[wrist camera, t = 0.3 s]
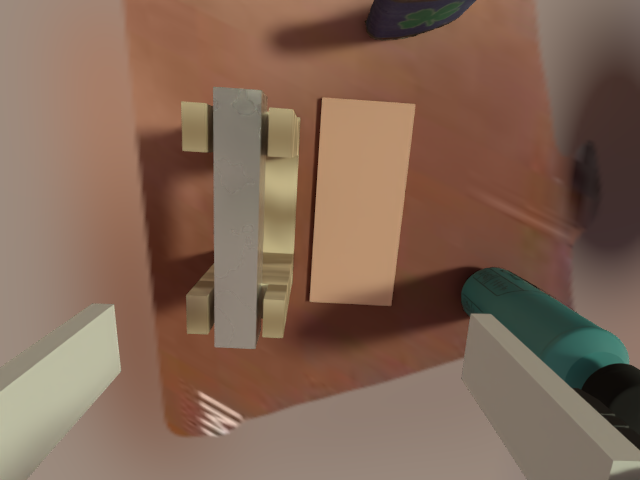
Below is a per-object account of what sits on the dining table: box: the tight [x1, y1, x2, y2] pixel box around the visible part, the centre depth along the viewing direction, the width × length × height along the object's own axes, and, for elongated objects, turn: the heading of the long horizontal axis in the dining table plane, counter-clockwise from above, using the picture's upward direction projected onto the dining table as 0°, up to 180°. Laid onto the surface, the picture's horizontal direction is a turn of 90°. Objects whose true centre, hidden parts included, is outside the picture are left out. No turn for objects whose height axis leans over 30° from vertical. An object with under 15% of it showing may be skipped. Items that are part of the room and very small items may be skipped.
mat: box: [310, 98, 415, 306], centre depth 38 cm, size 21×9×1 cm, turn 176°
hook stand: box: [181, 102, 300, 338], centre depth 31 cm, size 17×7×13 cm, turn 176°
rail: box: [213, 87, 267, 349], centre depth 26 cm, size 18×3×3 cm, turn 176°
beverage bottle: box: [461, 267, 640, 435], centre depth 30 cm, size 6×7×20 cm
